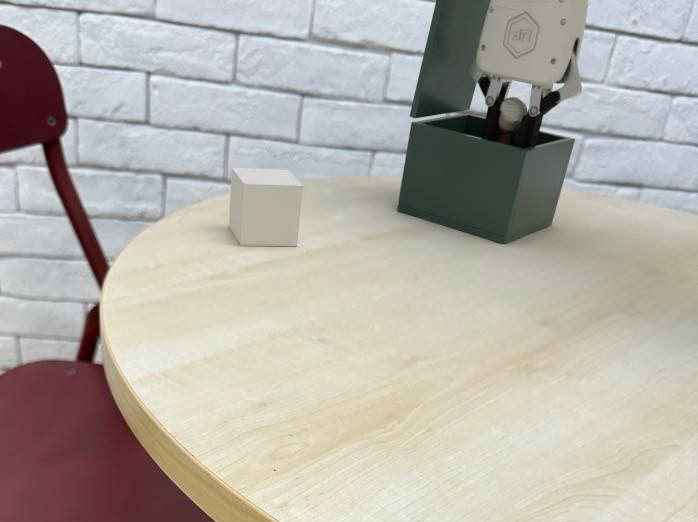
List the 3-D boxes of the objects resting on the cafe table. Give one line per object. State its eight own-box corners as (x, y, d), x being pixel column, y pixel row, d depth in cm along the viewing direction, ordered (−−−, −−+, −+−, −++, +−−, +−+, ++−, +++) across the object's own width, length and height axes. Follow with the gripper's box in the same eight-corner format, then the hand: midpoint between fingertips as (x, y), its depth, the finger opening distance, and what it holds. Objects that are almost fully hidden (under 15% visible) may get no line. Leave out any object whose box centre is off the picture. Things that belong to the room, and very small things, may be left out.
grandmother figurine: (476, 205, 105) (498, 90, 97) (507, 209, 104) (531, 94, 97) (474, 221, 98) (497, 100, 91) (507, 225, 98) (533, 104, 91)
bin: (551, 225, 104) (575, 138, 98) (503, 244, 95) (526, 151, 90) (449, 195, 110) (466, 112, 105) (396, 210, 102) (411, 121, 96)
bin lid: (510, -41, 94) (471, -51, 96) (453, -45, 86) (412, -56, 88) (469, 109, 104) (435, 97, 106) (414, 118, 96) (378, 105, 98)
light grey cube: (297, 246, 88) (303, 185, 84) (240, 246, 86) (244, 183, 82) (282, 227, 92) (287, 169, 88) (228, 226, 90) (231, 167, 87)
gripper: (463, -56, 87) (428, 136, 98) (614, -36, 80) (559, 170, 91) (497, -53, 92) (460, 130, 103) (642, -34, 85) (587, 161, 96)
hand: (507, 147), depth 97 cm, fingers closed on grandmother figurine, 3 cm apart
